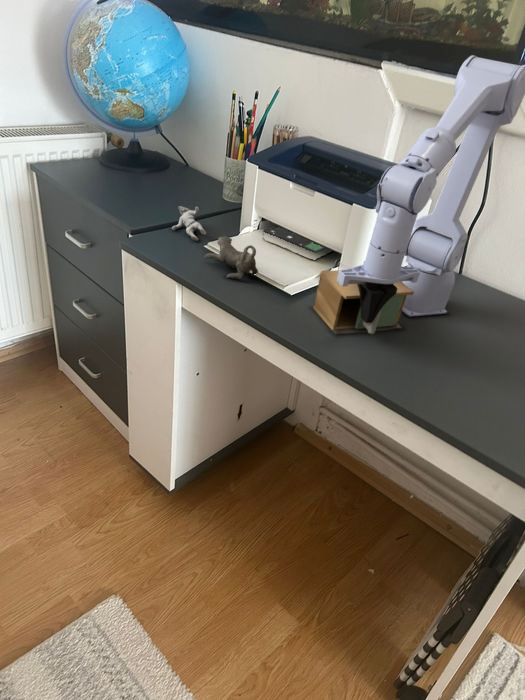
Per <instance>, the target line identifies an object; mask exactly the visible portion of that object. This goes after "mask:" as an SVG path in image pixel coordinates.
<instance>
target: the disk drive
mask: <svg viewBox="0 0 525 700" xmlns="http://www.w3.org/2000/svg"><path fill="white" fill-rule="evenodd" d="M272 228H273V227H267V228H264V229H263V231H262V233H263V232H265V233H267V234H270V235H273V236H276V237H278V238H280V239H283V240H285V241H287V242H290V243H292V244H295V245H297V246H299V247H302V248H304V249H306V250H309V251H312V252H314V253H317V252H319V251H322V250H324V249H325V248H324V247H322V246H320V245H317V244H314V243H313V242H311V241H309V240H307V239H304V238H302V237H300V236H298V235H296V234H294V233H291V232H289V231H288V230H285V229H283V228H280V227H277V228H275V229H272Z"/></svg>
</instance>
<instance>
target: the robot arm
mask: <svg viewBox="0 0 525 700" xmlns="http://www.w3.org/2000/svg"><path fill="white" fill-rule="evenodd" d="M524 97H525V65H523V64H522V65H519V64H513V63H509V62H503V61H499V60H493V59H489V58H483V57H478V56H477V55H473V54H471V55H470V56H468V57H467V58H466V59H465V60H464V61H463V63H462V64H461V66H460V67H459V70H458V72H457V75H456V78H455V83H454V91H453V98H452V100H451V102H450V103H449V104H448V106H447V108H446V110H444V112H443V114H442V116H441V118H440V119H439V121H438V122H437V124H436V126H435V127H429V128H426V129H425V130H424V131H423V132H422V133H421V134H420V136H419V137H418V139H417V140H416V141H415V142H414V144H412V146H411V148H410V149H409V150H408V152H407V153H406V155H405V156H404V157H403V158H402V160H401V161H400V163H396V164H395V165H390V166H388V168H386V169H385V170H384V172H383V173H382V175H381V177H380V180H379V183H378V184H377V188H376V199H377V201H376V205H375V213H376V214H377V215H376V219H375V223H374V226H373V230H372V235H371V237H370V242H369V245H368V249H367V252H366V257H365V260H364V261H363V263H362V264H360V265H357V266H354V267H350V268H347V269H339V273H338V277H337V282H338V283H339V284H340V285H341V286H342V287H345V286H348V284H357V285H358V289H359V293H360V300H361V318H362V319H363V320H364V321H365V322H366V323H372V322H373V320H374V319H375V317H376V316H377V314H378V313H379V311H380V310H381V308H382V307H383V306H384V305H385V303H386V302H387V301H388V300H389V299H390V298H392V297H393V296H394V295H395V294H396V292H397V287H396V286H394V285H393V284H394V283H396V282H399V281H401V282H403V283H404V284H405V285H406V286H407V287H409V288H410V289H411V290H412V291H413V292H414V293H413V295H407V297H406V300H405V303H404V306H403V309H402V312H403V313H404V314H405V315H406V316H407V317H421V316H434V315H445V314H447V313H448V310H446V306H447V304H448V301H449V299H450V296H451V294H452V291H453V288H454V287H455V286H454V285H455V281H456V276H455V271H454V270H455V269H456V267H458V265H459V262H460V261H461V259H462V257H463V254H464V252H465V246H466V244H467V241H468V237H469V236H468V233H467V231H466V229H465V227H464V226H463V223H462V222H461V220H460V218H461V216H462V214H463V211H464V208H465V206H466V204H467V201H468V200H469V198H470V194H471V193H472V190H473V188H474V185H475V183H476V181H477V179H478V176H479V174H480V171H481V169H482V166H483V164H484V162H485V159H486V157H487V155H488V152H489V150H490V148H491V145H492V144H493V141H494V139H495V137H496V135H497V133H498V132H499V130H500V127H502V126H506V125H511V124H512V122H513V120H514V118H515V117H516V115H517V114H518V111H519V109H520V107H521V104H522V103H523V99H524ZM463 133H464V135H463V136H462V139H461V142H460V145H459V147H458V149H457V144H456V141H457V139H458V138H459V137H460V136H461V135H462V134H463ZM456 151H457V152H456ZM455 154H456V155H455ZM454 155H455V156H454ZM453 157H454V160H453V162H452V164H451V166H450V168H449V172H448V174H447V176H446V179H445V181H444V184H443V186H442V189H441V191H440V194H439V196H438V198H437V200H436V201H437V202H436V204H435V206H434V209H433V211H432V212H431V213H428V214H425V215H422V216H420V217H418V215H419V213H421V212H422V211H423V210H424V209H425V207H426V206H427V204H428V202H429V201H430V198H431V196H432V194H433V191H434V189H435V188H436V185H437V178H438V177H439V176H440V175H441V173H442V172H443V170H444V169H445V167H446V166H447V165H448V164H449V162H450V161H451V159H452V158H453ZM405 257H406V259H405V262H406V263H407V265H406V266H402V265H403V262H404V258H405Z"/></svg>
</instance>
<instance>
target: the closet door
mask: <svg viewBox="0 0 525 700" xmlns="http://www.w3.org/2000/svg"><path fill="white" fill-rule="evenodd" d="M403 297H404V295H400V296H393V297H392V298H390V299H389V300H388V301H387V302H386V303H385V305H384V306H383V307H382V308H381V310H380V311H379V313H378V314H377V316H376V317H375V319H374V320H373V322H372V323H366V322H365V321H364V320H363V319H362V318H361V306H360V309H359V313H358V316H357V320H356V323H355V328H356V329H361V328H366V329H367V330H368V332H367V333H368V334H370V335H374V334H376V331H375V330H376V327H382V326H393V325H394V324H395V321H396V318H397V315H398V312H399V309H400V306H401V303H402V300H403Z"/></svg>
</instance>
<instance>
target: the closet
mask: <svg viewBox="0 0 525 700" xmlns="http://www.w3.org/2000/svg"><path fill="white" fill-rule="evenodd" d="M339 270H340V269H339ZM339 270H338V269H336V270H335V269H334V270H321V271H320V276H319V280H318V285H317V289H316V294H315V297H314V302H313V306H312V308H313V310H314V311H315V312H316V313H317V315H318V316H319V317H320V318H321V319H322V320H323V322H324V323H325V324H326V325H327V326H328V327H329V328H330V330H331V331H332V332H333V333H334V334H335V336H341V335H349V334H361V333H368V330H367V329H366V328H361V329H356V328H355V323H356V320H357V316H358V313H359V309H360V306H361V300H360V293H359V289H358V285H357V284H348V286H345V287H342V286H341V285H340V284H339V283H338V282H337V277H338V273H339ZM393 285H394V286H396V287H397V292H396V294H395V295H394V296H400V295H404V297H403V300H402V303H401V306H400V309H399V312H398V315H397V318H396V321H395V324H394V325H393V326H382V327H376V330H375V332H382V331H391V330H401V329H402V326H401V325H400V324H399V320H400V318H401V315H402V312H403V311H402V309H403V306H404V303H405V300H406V297H407V295H413V293H414V292H413V291H412V290H411V289H410V288H409V287H407V286H406V285H405V284H404V283H403V282H402V281H399V282H396V283H394V284H393Z"/></svg>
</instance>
